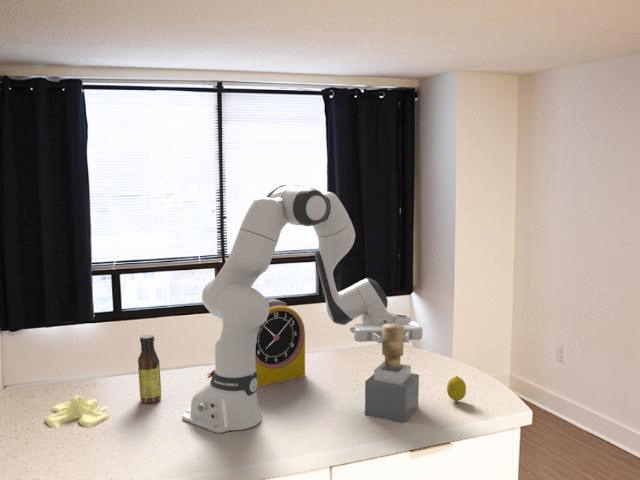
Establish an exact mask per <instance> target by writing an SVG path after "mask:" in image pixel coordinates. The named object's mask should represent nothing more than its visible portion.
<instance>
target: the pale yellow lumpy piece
mask: <svg viewBox="0 0 640 480" xmlns="http://www.w3.org/2000/svg"><path fill="white" fill-rule="evenodd" d="M99 408H100V405H99V403H98V401H97V399H91V398H90V399H89V400H85V399H84V398H82V397H81V396H80V395H78V394H75V396H73V397H72V399H71V400H70V401H65V402H61V403H60V404H57V405H54V406H53V407H52V408H51V409H50V411H53V412H55V413H52V414H49V415H48V416H46V417H45V418H44V423H46V424H47V425H48V426H49V427H50V428H52V429H53V428H54V429H55V428H56V429H57V428H58V427H60V426H61V424H64V423H66V422H70V421H72V420H75V419H79V420H78V423H79V424H80V426H83V427H85V428H86V429H91V428H93V427H96V425H99V424H100V423H103V422H104V421H106V420H108V419H110V417H111V416H112V415H110V414H107V413H103V412H106V411H107V409H108V406H107V405H104V406H103V407H101V408H100V409H99ZM97 410H99V411H97Z"/></svg>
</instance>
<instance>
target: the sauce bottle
mask: <svg viewBox="0 0 640 480" xmlns="http://www.w3.org/2000/svg"><path fill="white" fill-rule="evenodd" d="M154 341H155V335H153V334H144V335H141V336H140V337H139V342H140V346H141V348H140V351H141V352H140V354H139V356H138V358H137V361H138V362H137V364H138V365H137V366H138V368H137V370H138V385H139V386H138V387H139V396H140V401H141V402H142V403H143V404H155V403H157V402H159V401H161V399H162V381H161V367H160V359H159V357H158V355H157V352H156V349H155V342H154Z"/></svg>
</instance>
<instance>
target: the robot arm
mask: <svg viewBox="0 0 640 480" xmlns="http://www.w3.org/2000/svg"><path fill="white" fill-rule="evenodd" d="M287 224H290V225H295V226H304V227H305V226H306V227H313V229H314V232H315V234H316V236H317V239H318V248H317V250H316V252H315V253H314V254H315V255H314V256H315V258H314V259H315V264H316V269H317V272H318V276H319V280H320V281H319V282H320V284H321V288H322V292H323V295H324V299H325V306H326V312H327V314H328V316H329V318H330V320H331V321H332V323H334V324H337V325H341V326H345V325H347V324H349V323H351V322H353V320H355V319H357V318H358V317H360V319H361V322H362V323H355V325H353V327H350V328H349V330H350V332H351V333H353V338H354V341H355V342H358V343H362V342H365V343H367V342H375V343H377V344H382V343H383V342H384V341H383V340H384V338H383V336H382V332H383V325H385V324H400V325H403V326H404V343H409V341H420V340H422V338H423V327H422V326H421V325H420V324H419V323H418V322H417V321H416V320H412V317H411V315H403V314H395V313H392V312H389V311H388V310H387V309H388V305H389V304H388V303H389V302H388V298H387V295H386V293H385V292H384V290H383V289H382V287H381V285H380V284H379V283H378V282H377V281H376V280H374V279H372V278H369V277H365V278H364V279H362V280H359V281H358V282H356V283H353V284H352V285H351V286H348V287H347V288H344V289H342V290H339V291H338V290H337V287H336V283H335V278H334V270H335V269H336V266H337V265H338V263H339V262H340V261H341V260H342V259H343V258H344V257H346V255H347V254H348V253H349V251H351V249H352V248H353V245H354V243H355V239H356V231H355V228H354V225H353V223H352V220H351V218H350V216H349V214H348V212H347V210H346V208H345V207H344V205H343V203H342V201H341V200H340V199H339V198H338V196H337V195H336V193H334V192H331V191H323V192H321V191H320V190H318V189H317V188H316V189H315V188H314V187H313V188H312V187H306V186H305V187H304V186H301V185H287V184H286V185H285V184H284V185H278V186H275V188H273V189H271V191H269V193H267V196H261V197H257V198H256V199H253V202H252V203H251V205H250V206H249V208H248V210H247V212H246V214H245V215H244V218H243V219H242V222H241V224H240V227H239V230H238V232H237V235H236V238H235V240H234V243H233V246H232V249H231V251H230V253H229V255H228V257H227V260H226V261H225V262H224V264H223V266H222V267H221V268H220V270H219V271H218V273H217V275H216V276H215V278H213V279H212V280H210V281H209V282H208V283H207V284H206V285H205V286H204V288H203V290H202V295H201V300H202V304H203V306H204V307H205V308H206V309H207V311H208V312H209V313H210V314H211V315H212V316H214V317H217V318H218V319H220V320H221V321H222V328H221V334H220V337H219V339H218V340H217V341H216V343H215V345H214V360H215V361H214V362H215V363H214V364H215V365H214V367H215V368H214V369H213V370H212V371H211V372H209V373H208V374H207V377H206V378H207V379H209V378H211V379H210V382H209V383H207V384H206V385H205V386H204V387H202V388H200V389H199V390H198V391H196V393H195V394H194V395H193V396H192V399H191V404H190V407H188V408H187V409H186V410H185V411H184V412H183V414H182V420H183V421H186V422H188V423H191V424H193V425H195V426H198V427H200V428H204V429H206V430H209V431H211V432H213V433H217V434H221V433H226V432H230V431H241V430H245V429H250V428H252V427H253V428H254V427H255V426H257V425H258V424H260V423H261V421H262V420H263V416H262V412H261V409H260V404H259V399H258V391H257V390H258V386H257V369H256V340H257V335H258V331H259V328H260V326H261V325H262V324H263V323H264V322H265V321H266V319H267V317H268V314H269V303H268V301H267V300H268V299H267V298H266V297H265V296H264V295H263V294H262V293H261V292H260V291H259V290H257V288H254V287H253V285H254V283H256V281H257V279H258V278H259V277H260V276H261V275H262V274H264V273H265V272H266V271H268V269H269V267H270V264H271V261H272V259H273V256H274V254H275V253H274V252H275V250H276V247H277V245H278V242H279V239H280V235H281V231H282V230H283V228H284V227H285V226H286V225H287Z"/></svg>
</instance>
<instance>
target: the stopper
mask: <svg viewBox="0 0 640 480" xmlns="http://www.w3.org/2000/svg"><path fill="white" fill-rule="evenodd" d="M382 336H383V338H384V340H383V341H384V342H383V343H381V354H382V355H383V356H384V362H385V365H386V366H388V367H398V366H400V364H401V357H402V356H404V343H405V342H404V326H403V325H400V324H385V325H383V332H382Z"/></svg>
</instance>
